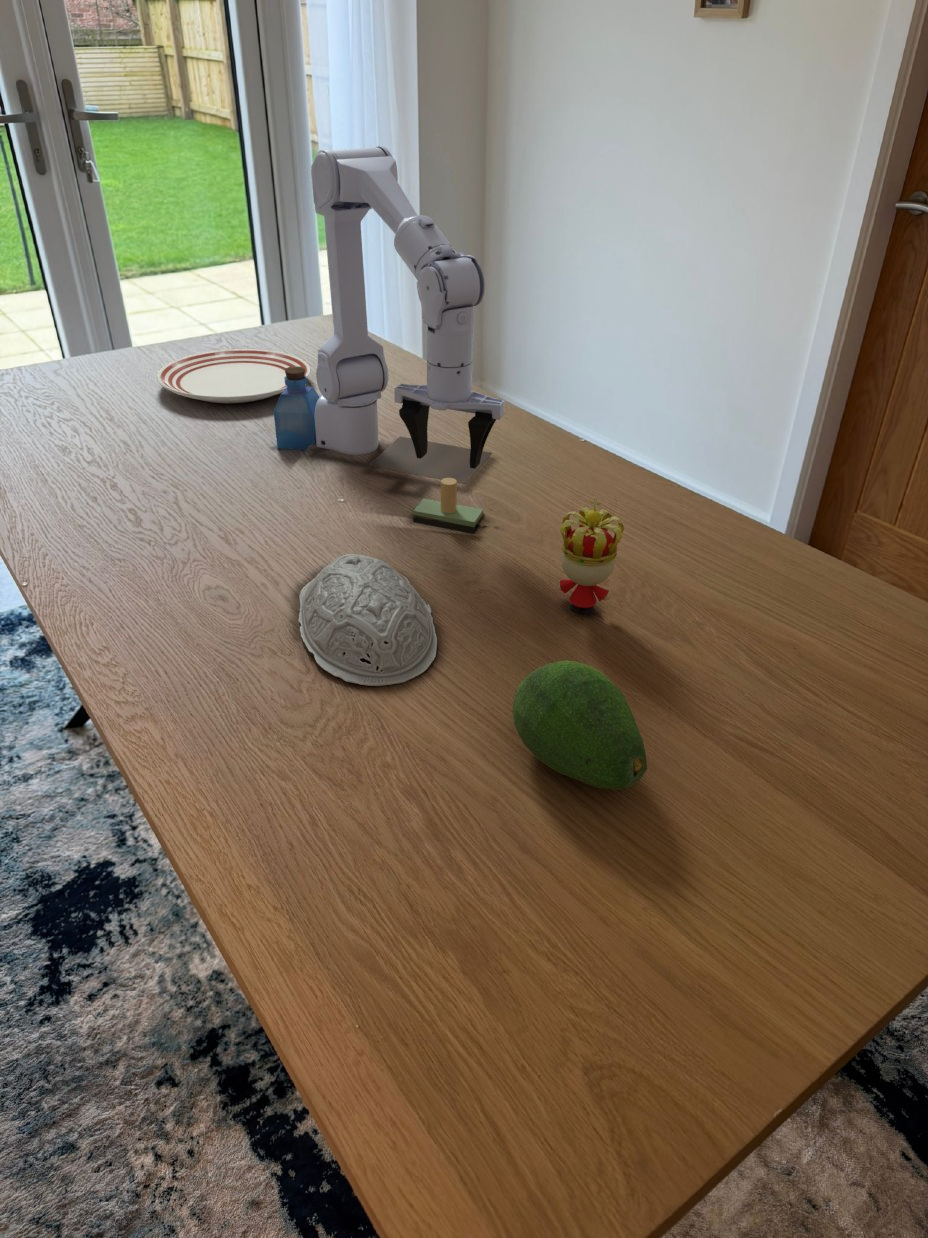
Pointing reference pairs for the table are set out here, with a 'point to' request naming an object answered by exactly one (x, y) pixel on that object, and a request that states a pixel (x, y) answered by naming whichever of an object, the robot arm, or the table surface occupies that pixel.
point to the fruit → (579, 725)
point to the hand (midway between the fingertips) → (448, 460)
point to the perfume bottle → (296, 412)
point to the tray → (429, 460)
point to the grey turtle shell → (366, 622)
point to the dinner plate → (229, 375)
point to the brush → (448, 510)
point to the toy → (588, 556)
